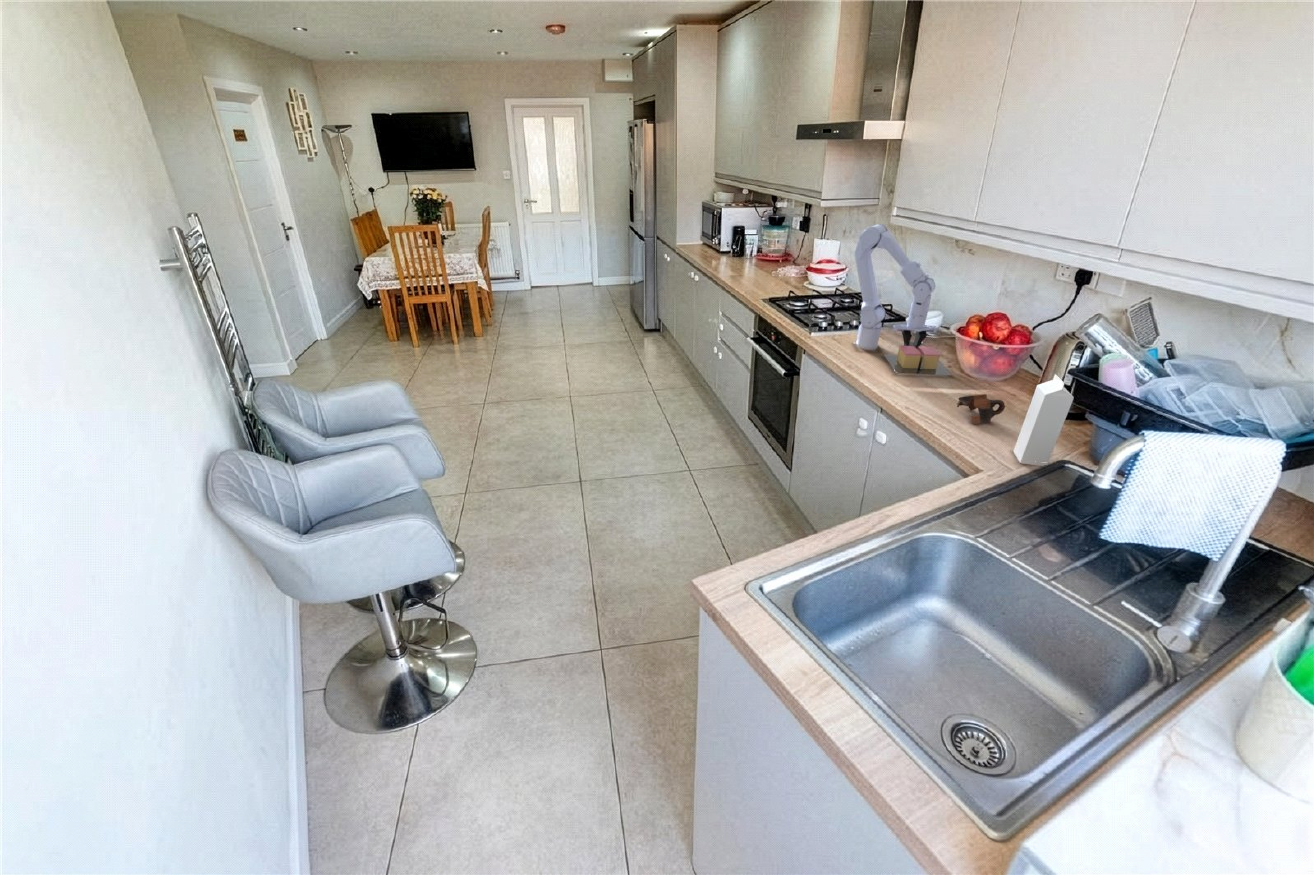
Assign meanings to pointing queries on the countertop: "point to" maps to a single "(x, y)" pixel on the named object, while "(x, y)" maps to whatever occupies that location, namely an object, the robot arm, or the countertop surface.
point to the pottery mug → (981, 407)
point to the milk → (1043, 422)
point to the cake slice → (929, 357)
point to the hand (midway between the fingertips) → (909, 350)
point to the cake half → (908, 357)
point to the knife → (920, 357)
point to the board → (898, 368)
